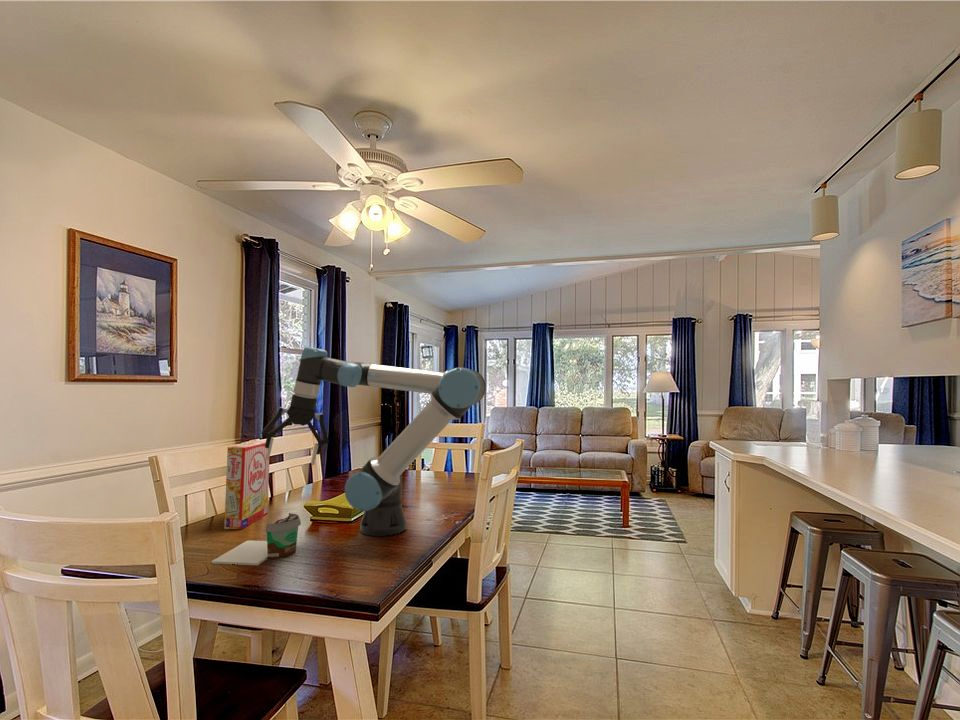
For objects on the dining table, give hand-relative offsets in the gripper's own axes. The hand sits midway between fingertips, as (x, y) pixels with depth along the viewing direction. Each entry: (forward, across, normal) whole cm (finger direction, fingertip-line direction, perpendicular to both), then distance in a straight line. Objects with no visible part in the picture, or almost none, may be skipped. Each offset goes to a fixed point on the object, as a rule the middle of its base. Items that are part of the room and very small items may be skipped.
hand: (290, 461), depth 158 cm
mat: (+24, +6, +14) cm, 28 cm away
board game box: (+28, +7, -22) cm, 37 cm away
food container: (+22, -3, +19) cm, 29 cm away
